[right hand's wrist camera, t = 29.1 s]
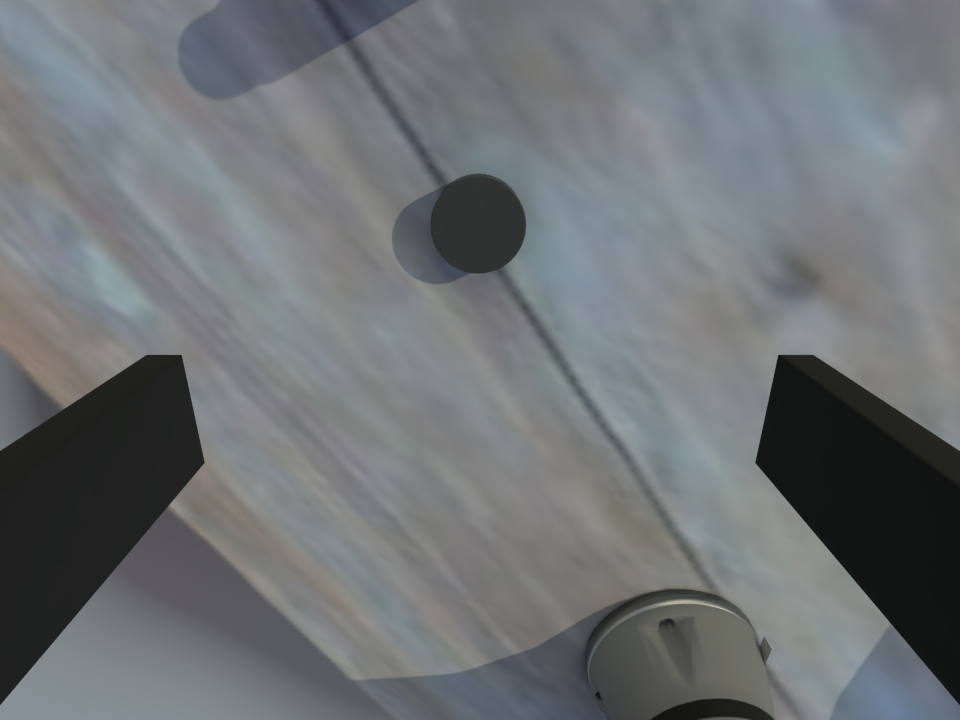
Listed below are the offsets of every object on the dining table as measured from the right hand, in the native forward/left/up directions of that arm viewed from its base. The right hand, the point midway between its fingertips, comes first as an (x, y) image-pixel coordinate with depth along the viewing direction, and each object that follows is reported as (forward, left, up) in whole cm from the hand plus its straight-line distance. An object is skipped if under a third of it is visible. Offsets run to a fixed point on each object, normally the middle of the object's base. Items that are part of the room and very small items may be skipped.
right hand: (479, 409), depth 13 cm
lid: (0, 0, -24) cm, 24 cm away
